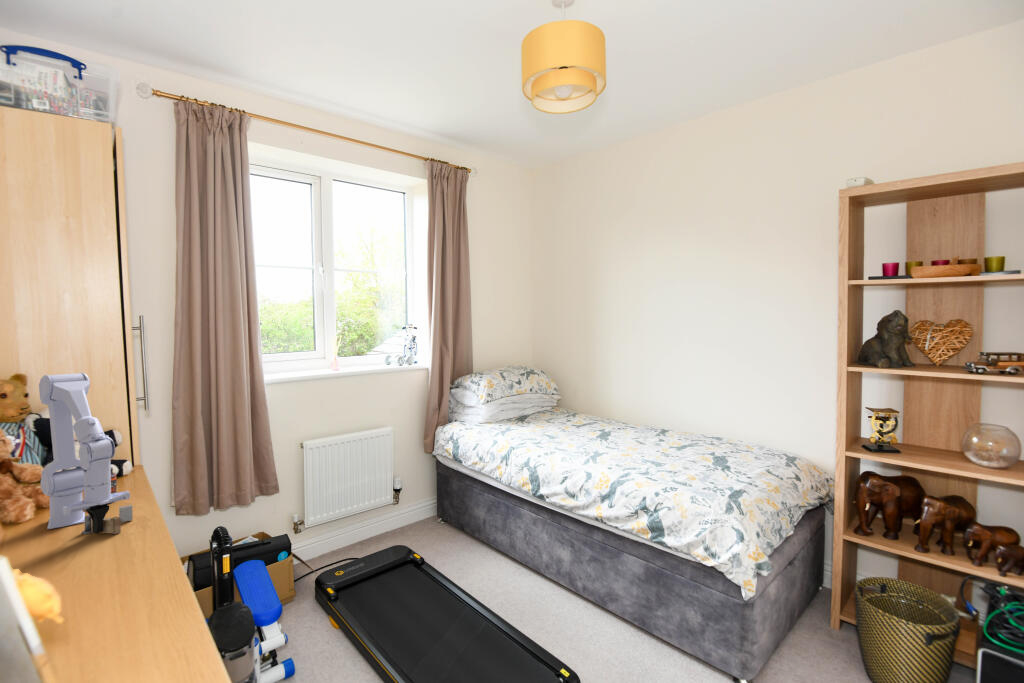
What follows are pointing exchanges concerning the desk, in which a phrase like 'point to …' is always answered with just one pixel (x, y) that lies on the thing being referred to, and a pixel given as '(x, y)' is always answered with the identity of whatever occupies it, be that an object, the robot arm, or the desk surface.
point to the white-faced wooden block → (125, 513)
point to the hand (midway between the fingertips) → (98, 531)
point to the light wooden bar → (111, 525)
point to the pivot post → (87, 525)
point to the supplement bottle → (113, 482)
